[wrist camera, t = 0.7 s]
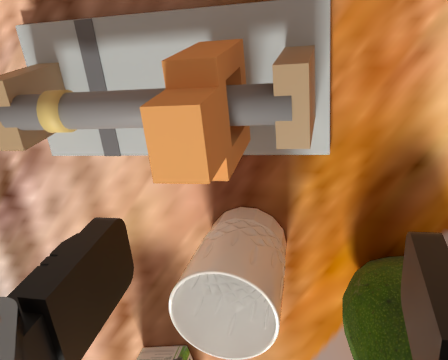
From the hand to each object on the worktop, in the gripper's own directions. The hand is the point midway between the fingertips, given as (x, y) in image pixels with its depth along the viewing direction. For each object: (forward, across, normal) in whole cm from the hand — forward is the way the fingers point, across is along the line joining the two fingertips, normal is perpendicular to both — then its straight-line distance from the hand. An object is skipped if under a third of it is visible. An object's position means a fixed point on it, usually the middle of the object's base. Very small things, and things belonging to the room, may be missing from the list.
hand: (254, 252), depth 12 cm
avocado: (+22, -7, +17) cm, 29 cm away
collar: (+19, +5, 0) cm, 20 cm away
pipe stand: (+22, +10, 0) cm, 25 cm away
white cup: (+23, +5, +14) cm, 27 cm away
